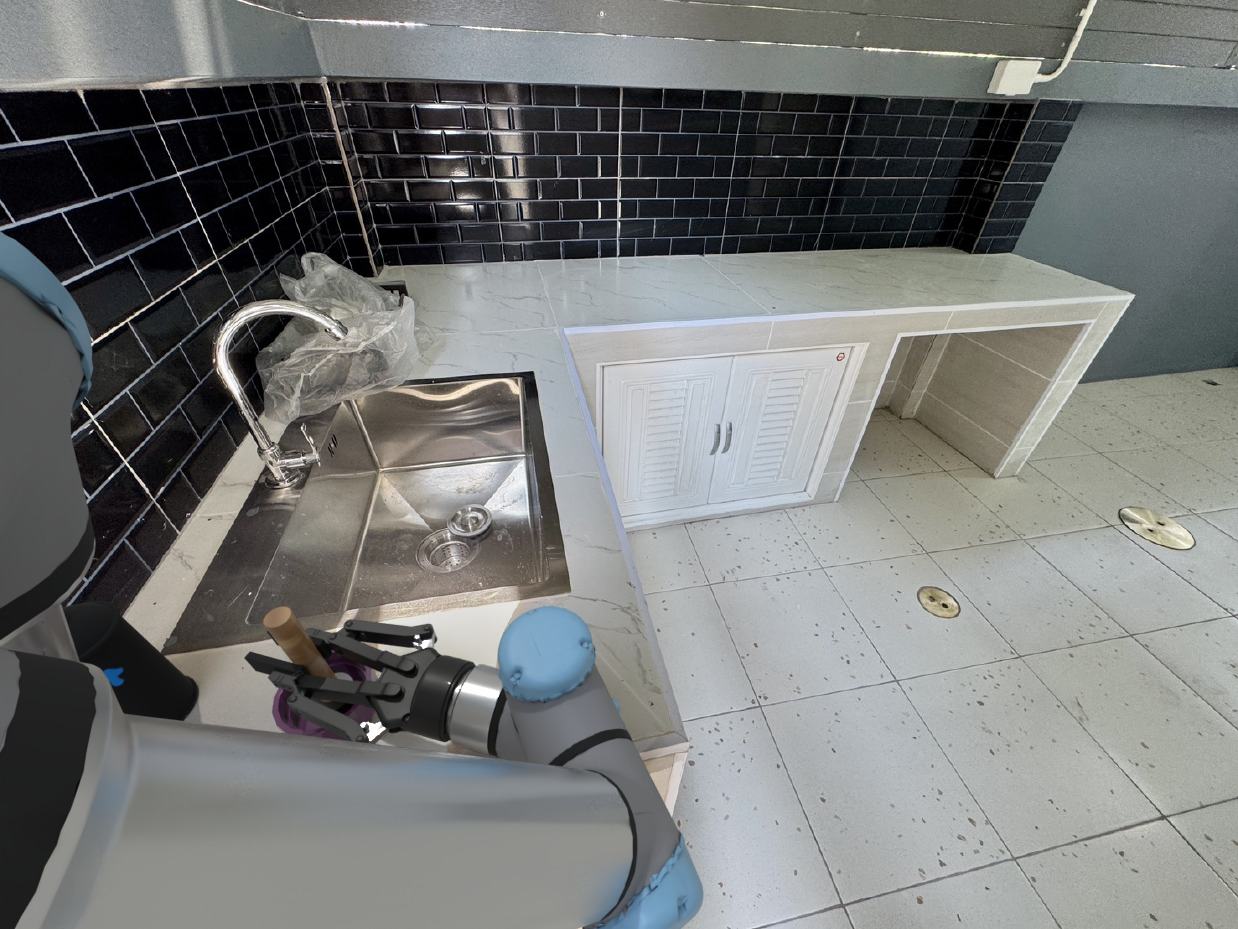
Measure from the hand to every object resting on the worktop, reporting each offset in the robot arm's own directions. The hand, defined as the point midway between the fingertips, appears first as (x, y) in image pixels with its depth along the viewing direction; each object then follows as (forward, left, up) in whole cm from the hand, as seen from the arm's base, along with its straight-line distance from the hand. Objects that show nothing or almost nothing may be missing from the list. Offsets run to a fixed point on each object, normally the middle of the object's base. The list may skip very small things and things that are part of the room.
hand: (264, 648), depth 54 cm
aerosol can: (-13, +10, -11) cm, 20 cm away
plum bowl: (+3, -4, -11) cm, 12 cm away
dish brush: (+3, -5, -10) cm, 11 cm away
